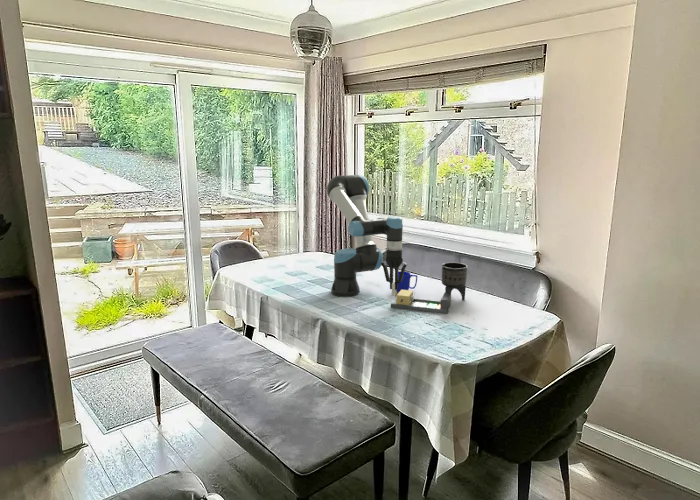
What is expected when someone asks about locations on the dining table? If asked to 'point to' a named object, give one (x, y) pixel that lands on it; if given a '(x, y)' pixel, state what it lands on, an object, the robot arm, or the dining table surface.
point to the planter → (454, 277)
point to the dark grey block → (446, 301)
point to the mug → (405, 282)
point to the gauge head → (405, 297)
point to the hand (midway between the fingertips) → (393, 295)
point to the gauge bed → (422, 306)
